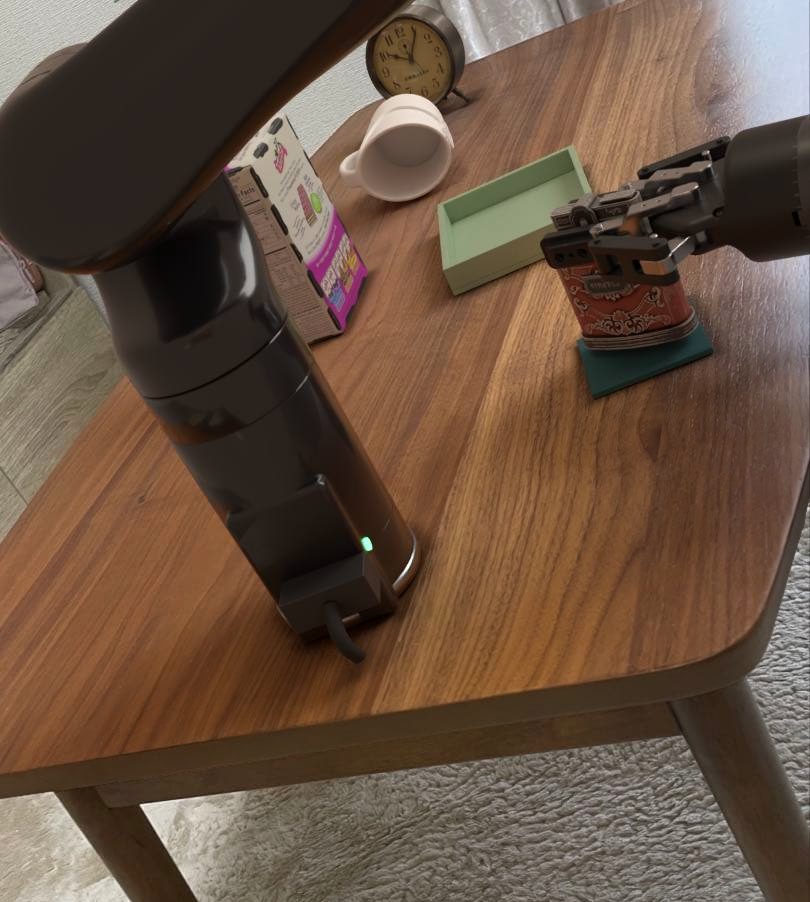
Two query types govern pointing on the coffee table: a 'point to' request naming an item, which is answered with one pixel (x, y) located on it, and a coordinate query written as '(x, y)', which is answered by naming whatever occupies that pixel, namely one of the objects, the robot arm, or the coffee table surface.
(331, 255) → the candy bar box
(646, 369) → the mat
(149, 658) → the coffee table surface
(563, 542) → the coffee table surface
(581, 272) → the lighter
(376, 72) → the alarm clock
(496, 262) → the tray
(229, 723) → the coffee table surface
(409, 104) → the mug
